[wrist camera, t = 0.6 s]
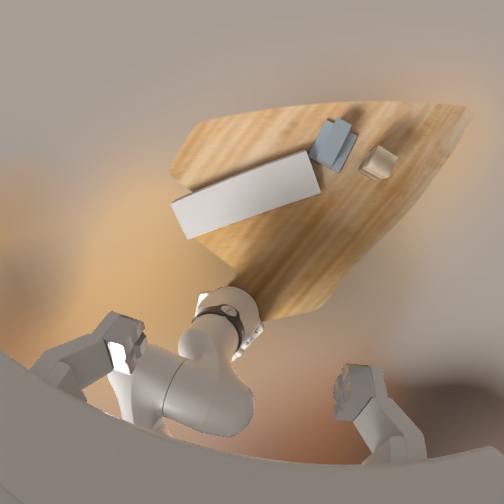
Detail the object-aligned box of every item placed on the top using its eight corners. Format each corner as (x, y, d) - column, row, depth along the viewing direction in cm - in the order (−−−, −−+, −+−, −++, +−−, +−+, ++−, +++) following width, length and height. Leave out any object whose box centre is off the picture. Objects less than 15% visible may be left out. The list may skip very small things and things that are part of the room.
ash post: (374, 180, 60) (388, 177, 48) (357, 170, 61) (368, 165, 48) (382, 164, 59) (398, 157, 46) (366, 154, 59) (378, 145, 47)
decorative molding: (318, 188, 66) (304, 149, 62) (321, 193, 62) (306, 151, 58) (193, 232, 75) (176, 198, 71) (187, 239, 70) (170, 204, 67)
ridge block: (338, 173, 62) (341, 170, 55) (307, 156, 62) (307, 152, 56) (356, 136, 59) (361, 130, 52) (326, 120, 60) (327, 112, 53)
